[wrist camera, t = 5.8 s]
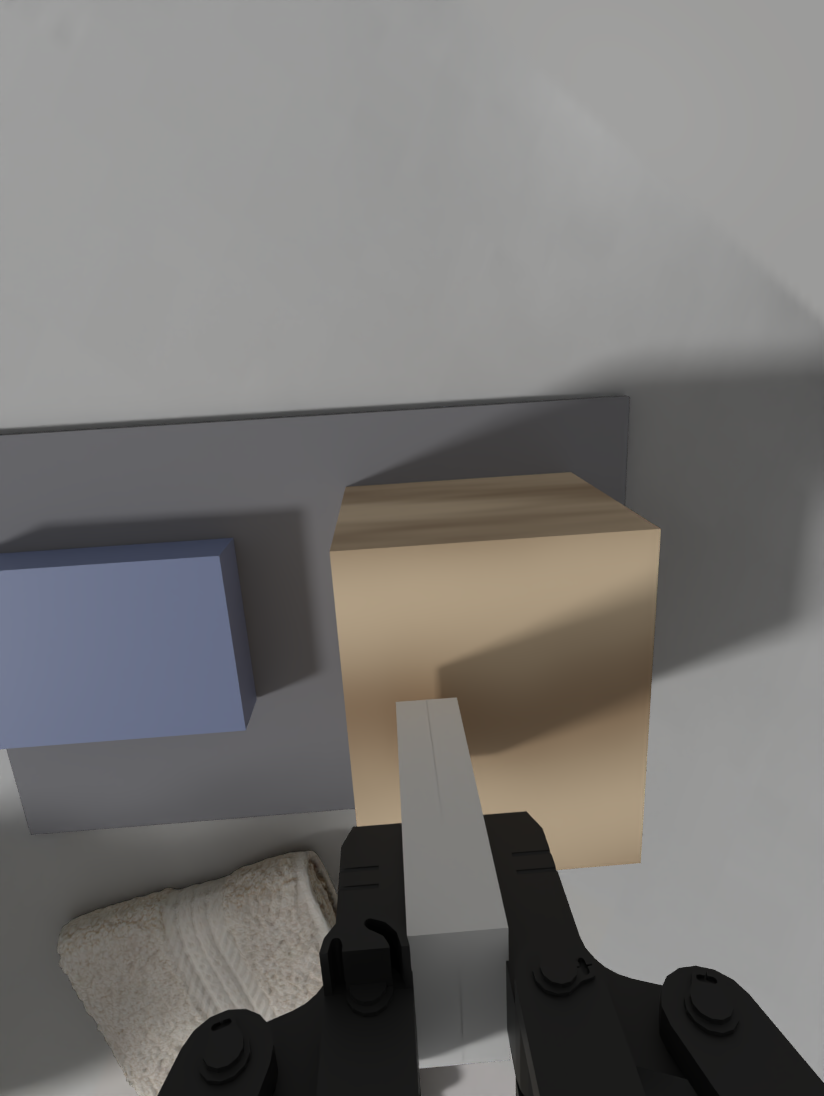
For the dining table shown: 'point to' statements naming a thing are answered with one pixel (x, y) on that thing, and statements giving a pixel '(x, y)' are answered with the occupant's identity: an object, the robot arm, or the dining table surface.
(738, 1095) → the robot arm
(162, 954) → the washcloth
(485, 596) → the oak block
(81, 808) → the mat
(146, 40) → the dining table surface
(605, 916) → the dining table surface
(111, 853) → the dining table surface
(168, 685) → the card box
